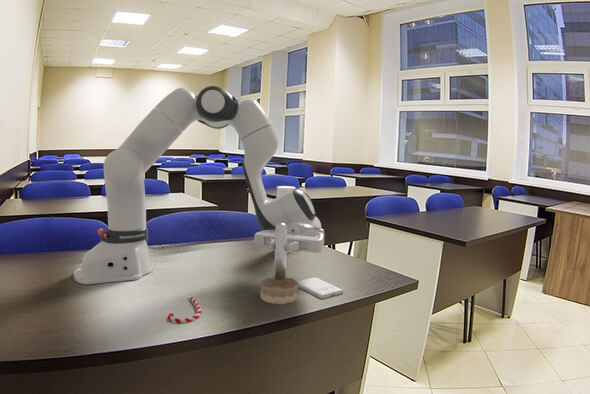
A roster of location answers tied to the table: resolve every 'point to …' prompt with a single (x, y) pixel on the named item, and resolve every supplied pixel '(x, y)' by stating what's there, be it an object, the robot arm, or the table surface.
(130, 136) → the robot arm
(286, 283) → the tan ring
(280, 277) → the white peg
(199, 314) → the candy cane
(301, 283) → the external hard drive
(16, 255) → the table surface
